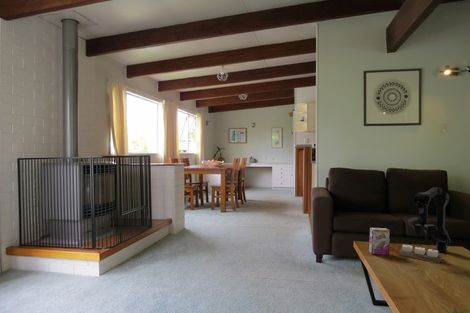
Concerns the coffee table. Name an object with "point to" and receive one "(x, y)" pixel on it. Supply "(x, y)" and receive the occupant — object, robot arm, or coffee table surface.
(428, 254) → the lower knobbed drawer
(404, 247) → the three pip tile
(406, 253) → the brown dotted block frame
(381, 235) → the candy bar box
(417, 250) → the two pip tile
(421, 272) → the coffee table surface
